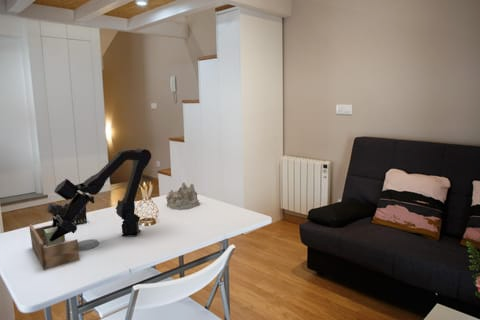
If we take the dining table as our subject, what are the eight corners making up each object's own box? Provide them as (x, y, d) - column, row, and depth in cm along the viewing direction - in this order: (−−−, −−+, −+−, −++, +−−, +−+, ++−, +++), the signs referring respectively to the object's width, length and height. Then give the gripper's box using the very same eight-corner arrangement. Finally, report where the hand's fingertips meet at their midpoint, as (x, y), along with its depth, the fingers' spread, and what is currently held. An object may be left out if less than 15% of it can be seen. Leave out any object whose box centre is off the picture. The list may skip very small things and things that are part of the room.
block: (60, 249, 150) (57, 226, 148) (63, 253, 146) (60, 230, 145) (46, 253, 147) (43, 229, 146) (49, 257, 143) (46, 233, 142)
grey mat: (102, 240, 159) (102, 239, 159) (93, 250, 149) (92, 249, 149) (80, 240, 159) (79, 239, 159) (68, 250, 149) (68, 249, 149)
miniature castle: (203, 204, 206) (200, 178, 204) (180, 212, 194) (177, 185, 192) (186, 200, 217) (183, 176, 214) (163, 208, 205) (159, 182, 202)
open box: (64, 239, 160) (62, 218, 159) (79, 259, 141) (76, 234, 139) (32, 247, 153) (29, 224, 151) (43, 269, 133) (40, 243, 132)
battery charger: (73, 226, 177) (70, 203, 175) (71, 224, 180) (69, 201, 178) (88, 223, 181) (86, 200, 179) (86, 220, 184) (84, 198, 182)
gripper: (54, 190, 152) (27, 222, 148) (64, 200, 138) (35, 235, 133) (76, 205, 158) (51, 235, 154) (88, 215, 144) (61, 250, 139)
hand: (49, 238), depth 145 cm, fingers open, 5 cm apart
